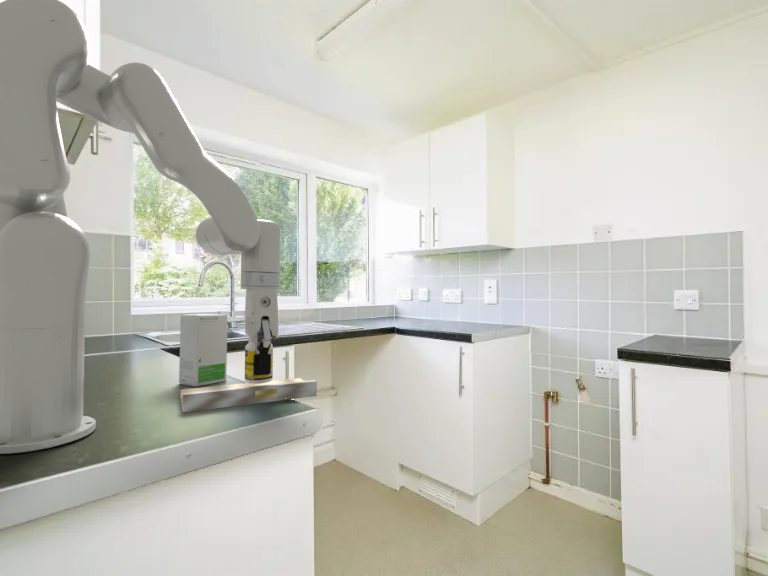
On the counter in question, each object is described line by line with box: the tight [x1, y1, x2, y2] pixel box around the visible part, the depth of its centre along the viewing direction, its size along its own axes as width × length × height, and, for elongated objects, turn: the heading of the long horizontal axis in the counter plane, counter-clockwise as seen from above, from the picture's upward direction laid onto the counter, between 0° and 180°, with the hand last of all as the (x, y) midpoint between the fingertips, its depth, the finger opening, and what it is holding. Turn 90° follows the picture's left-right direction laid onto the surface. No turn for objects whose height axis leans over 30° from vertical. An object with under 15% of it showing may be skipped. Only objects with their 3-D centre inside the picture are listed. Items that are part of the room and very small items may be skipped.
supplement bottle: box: [244, 336, 274, 384], centre depth 80 cm, size 5×5×10 cm
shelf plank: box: [179, 377, 318, 413], centre depth 79 cm, size 24×11×3 cm, turn 119°
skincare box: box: [178, 313, 229, 388], centre depth 91 cm, size 8×7×16 cm
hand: (258, 371), depth 80 cm, fingers closed on supplement bottle, 5 cm apart
